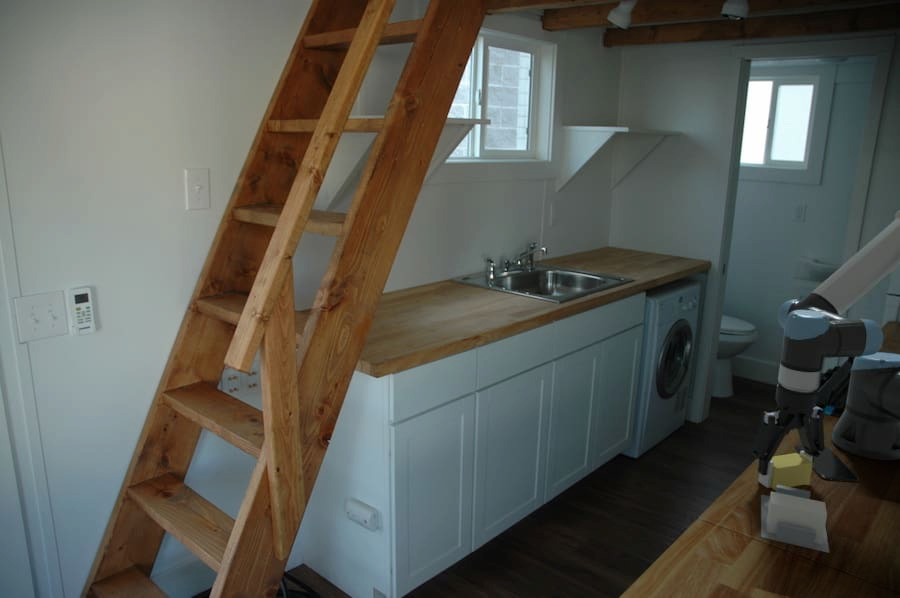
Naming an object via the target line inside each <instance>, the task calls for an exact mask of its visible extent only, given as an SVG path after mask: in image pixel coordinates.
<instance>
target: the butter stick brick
mask: <svg viewBox="0 0 900 598" xmlns="http://www.w3.org/2000/svg"><path fill="white" fill-rule="evenodd" d="M771 461H773V462H774V466H773V473H772V480H771V487H770V488H771V489H772V490H774V491H776V485H781V486H786V487H791V488H794V487H800V486H803V485H804V486H806V485H807V486H810V482H811V477H812V476H811V475H812V469H813V468H812V465H813V462H811V461H809V460H807V459H805V458H804V457H802V456H801V455H800V453H797V452H793V453H787V454H781V455H780V454H779V455H774V456H773V457H772V459H771Z"/></svg>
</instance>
